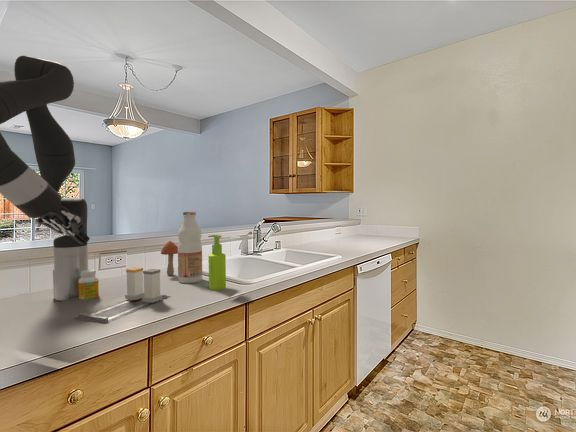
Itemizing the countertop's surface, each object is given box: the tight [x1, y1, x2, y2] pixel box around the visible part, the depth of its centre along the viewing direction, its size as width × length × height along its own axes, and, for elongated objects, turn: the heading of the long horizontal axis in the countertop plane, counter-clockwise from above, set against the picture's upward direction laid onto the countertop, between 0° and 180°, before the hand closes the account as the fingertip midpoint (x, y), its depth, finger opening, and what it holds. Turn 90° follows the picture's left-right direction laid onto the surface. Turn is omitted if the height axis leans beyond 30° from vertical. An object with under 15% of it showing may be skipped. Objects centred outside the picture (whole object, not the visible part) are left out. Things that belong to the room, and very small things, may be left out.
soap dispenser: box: [207, 234, 227, 291], centre depth 109 cm, size 6×7×20 cm
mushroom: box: [160, 240, 178, 276], centre depth 134 cm, size 8×8×15 cm
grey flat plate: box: [73, 291, 172, 325], centre depth 89 cm, size 11×24×2 cm, turn 161°
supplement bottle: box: [78, 269, 100, 301], centre depth 98 cm, size 5×5×10 cm
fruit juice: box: [177, 211, 203, 284], centre depth 123 cm, size 9×9×28 cm
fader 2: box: [142, 268, 162, 303], centre depth 93 cm, size 4×4×9 cm
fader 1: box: [124, 267, 144, 300], centre depth 96 cm, size 4×4×9 cm
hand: (85, 241), depth 77 cm, fingers closed
